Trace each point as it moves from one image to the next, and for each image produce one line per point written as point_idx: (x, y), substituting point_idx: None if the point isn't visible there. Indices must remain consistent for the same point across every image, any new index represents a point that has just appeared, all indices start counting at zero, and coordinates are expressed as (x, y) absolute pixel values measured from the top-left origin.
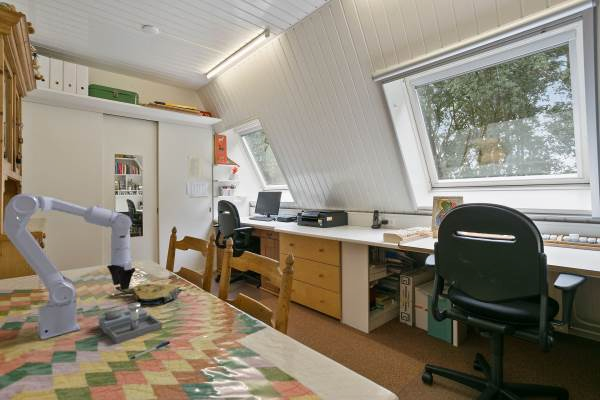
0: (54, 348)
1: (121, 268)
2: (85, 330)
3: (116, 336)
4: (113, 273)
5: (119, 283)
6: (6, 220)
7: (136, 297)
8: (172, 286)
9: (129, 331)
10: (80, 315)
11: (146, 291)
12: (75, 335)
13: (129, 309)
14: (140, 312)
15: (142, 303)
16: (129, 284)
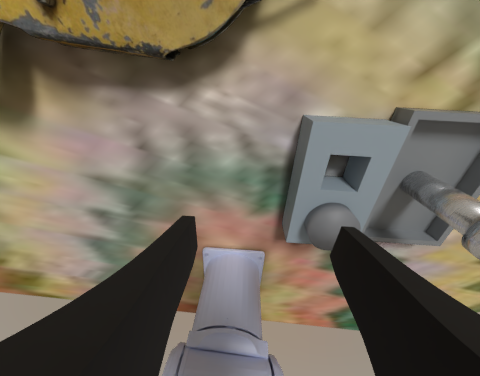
0: (314, 290)
1: (119, 360)
2: (277, 245)
3: (438, 244)
4: (162, 344)
5: (194, 228)
6: None
7: (135, 53)
8: None
9: (410, 196)
10: (159, 227)
11: None
12: (287, 262)
13: (307, 161)
14: (384, 146)
15: (194, 45)
16: (379, 246)
